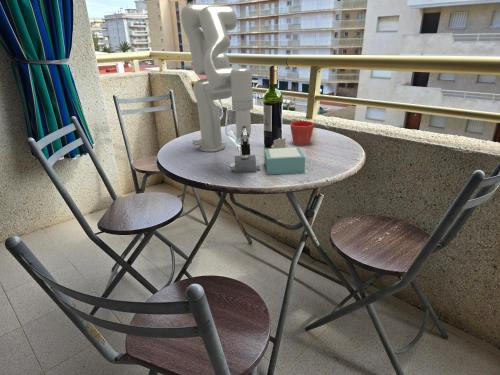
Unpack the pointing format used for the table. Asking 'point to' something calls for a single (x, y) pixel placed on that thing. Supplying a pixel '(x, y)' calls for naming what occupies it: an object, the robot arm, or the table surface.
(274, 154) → the stand
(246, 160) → the block
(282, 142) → the architectural model
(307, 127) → the flower pot
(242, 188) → the table surface
